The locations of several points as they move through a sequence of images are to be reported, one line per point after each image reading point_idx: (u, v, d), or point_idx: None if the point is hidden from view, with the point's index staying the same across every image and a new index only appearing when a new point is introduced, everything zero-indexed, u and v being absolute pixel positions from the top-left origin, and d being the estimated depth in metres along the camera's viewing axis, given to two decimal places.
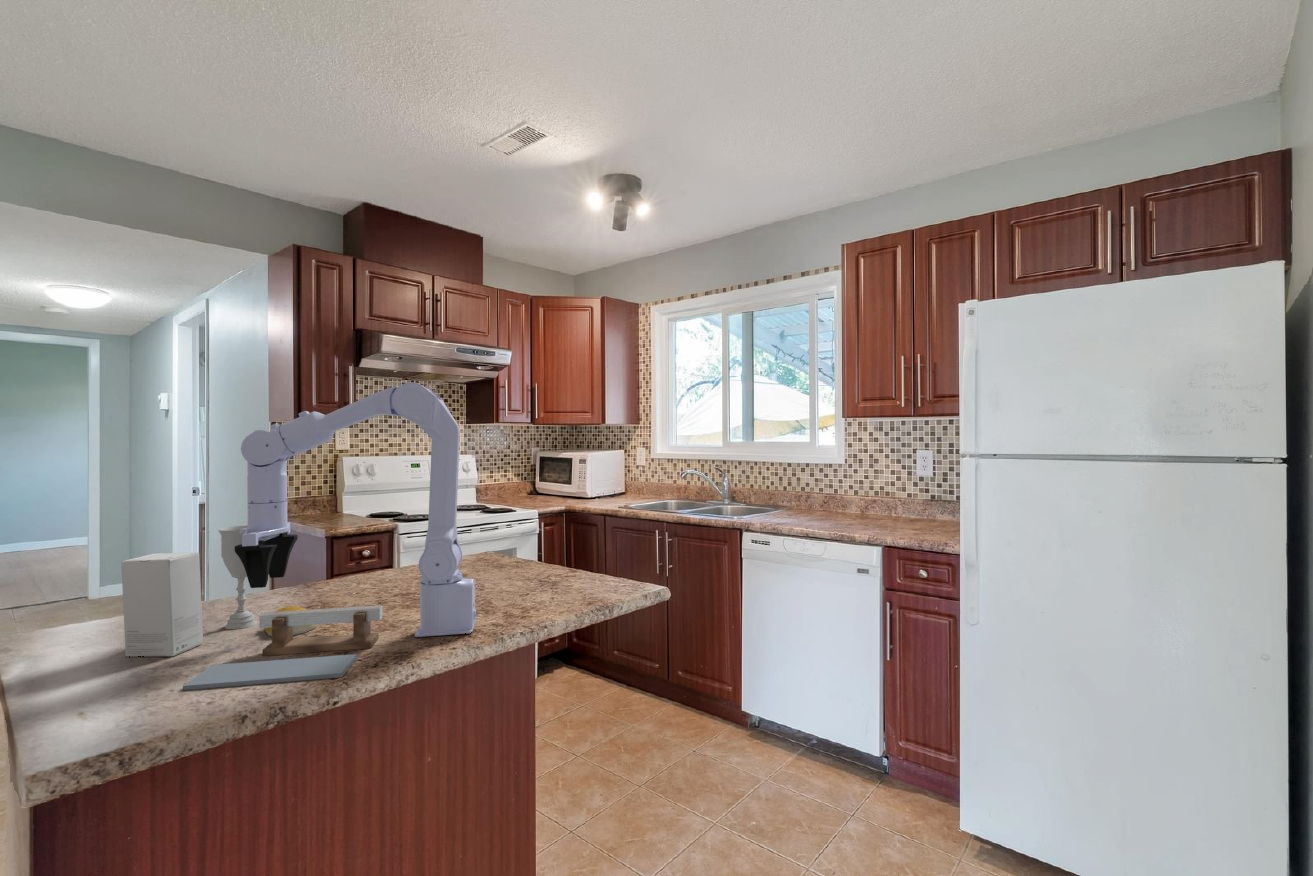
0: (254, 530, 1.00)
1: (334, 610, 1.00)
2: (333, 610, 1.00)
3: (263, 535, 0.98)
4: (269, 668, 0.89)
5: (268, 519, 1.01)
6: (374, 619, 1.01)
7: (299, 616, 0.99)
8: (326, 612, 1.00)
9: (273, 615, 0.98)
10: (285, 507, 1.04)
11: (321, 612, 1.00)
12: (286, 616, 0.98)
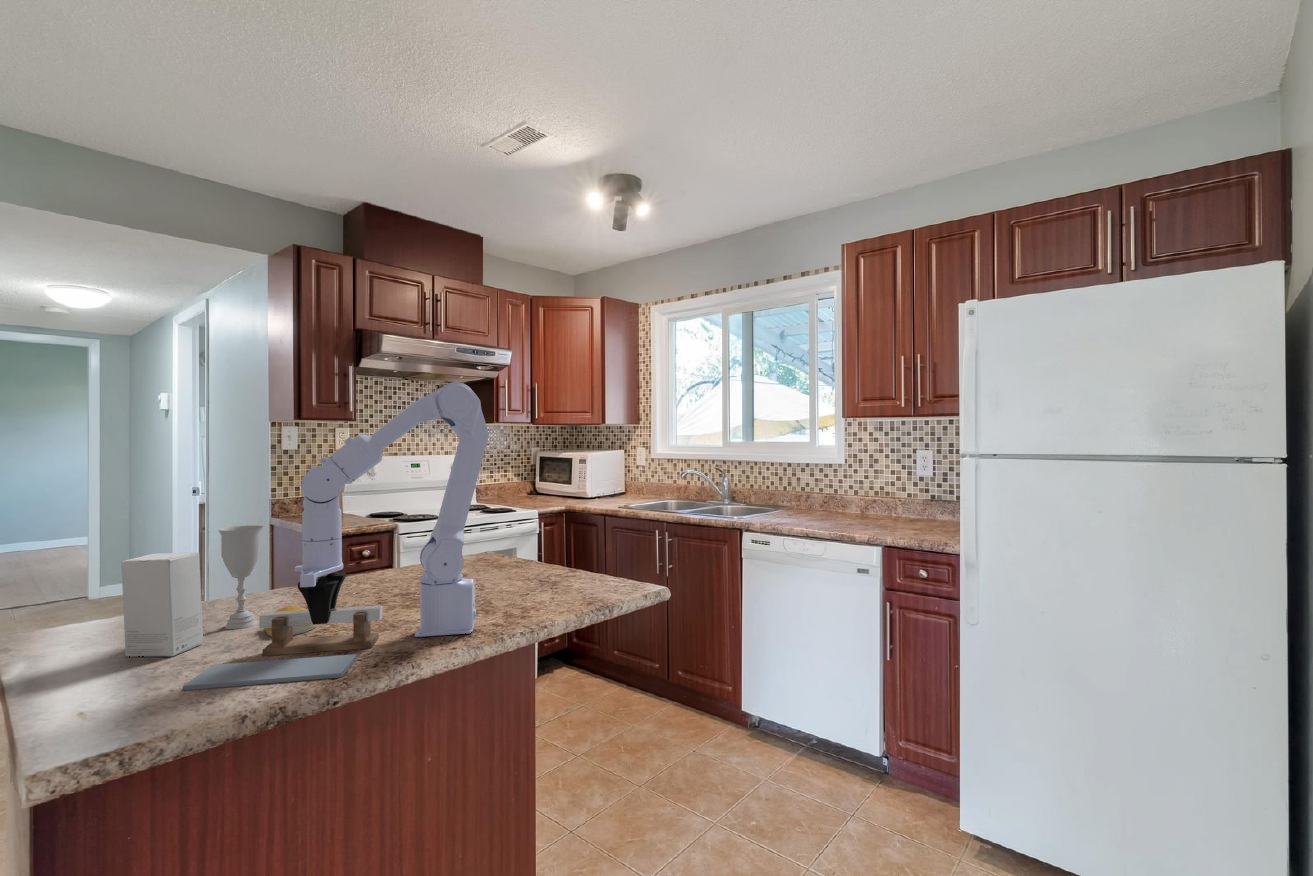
0: (310, 569, 0.98)
1: (334, 610, 1.00)
2: (333, 610, 1.00)
3: (320, 575, 0.96)
4: (269, 668, 0.89)
5: (324, 557, 0.98)
6: (374, 619, 1.01)
7: (299, 616, 0.99)
8: None
9: (273, 615, 0.98)
10: (340, 544, 1.01)
11: None
12: (286, 616, 0.98)
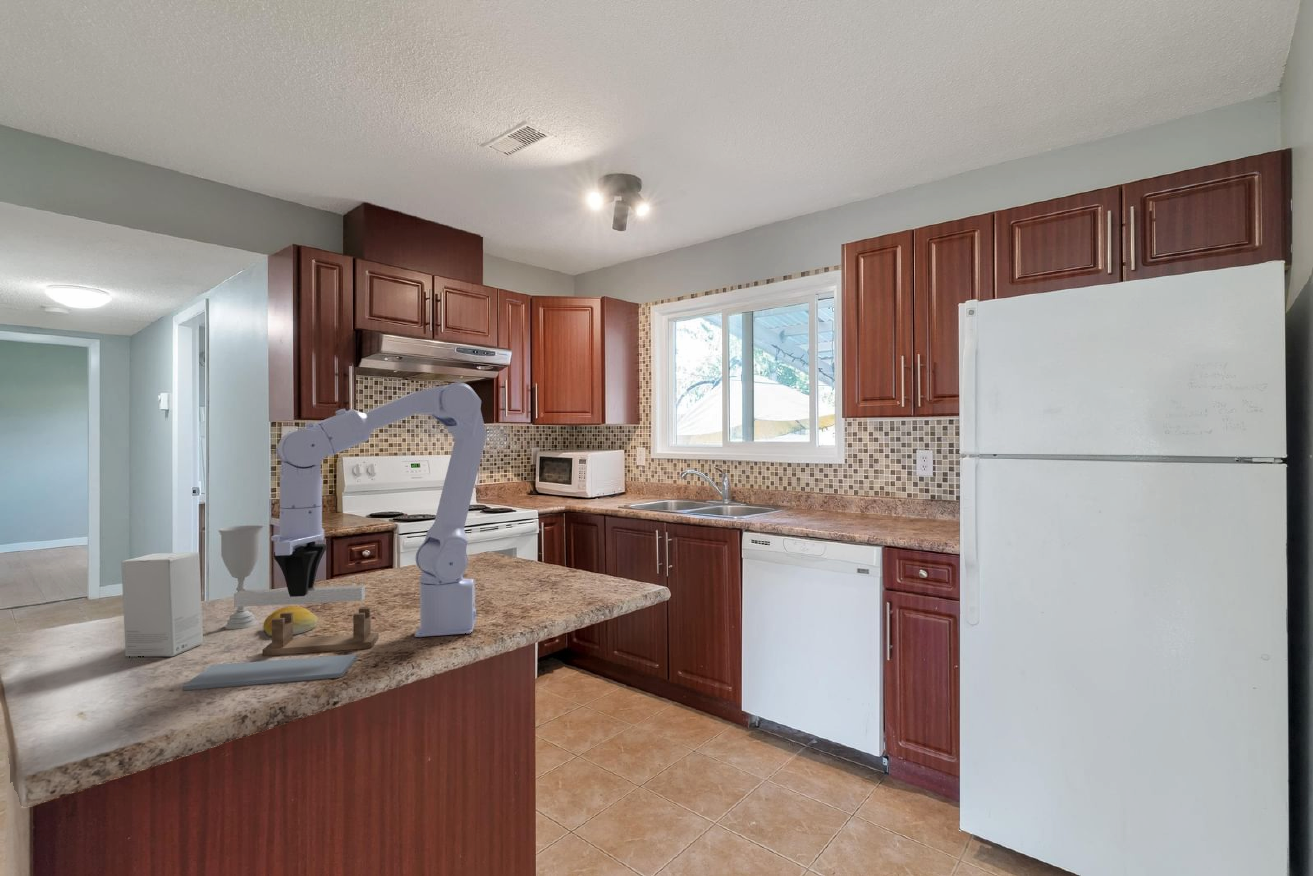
0: (287, 537, 0.92)
1: (313, 590, 0.95)
2: (312, 589, 0.95)
3: (297, 543, 0.90)
4: (269, 668, 0.89)
5: (302, 526, 0.93)
6: (355, 599, 0.96)
7: (276, 595, 0.94)
8: None
9: (249, 593, 0.93)
10: (320, 512, 0.96)
11: None
12: (262, 594, 0.93)
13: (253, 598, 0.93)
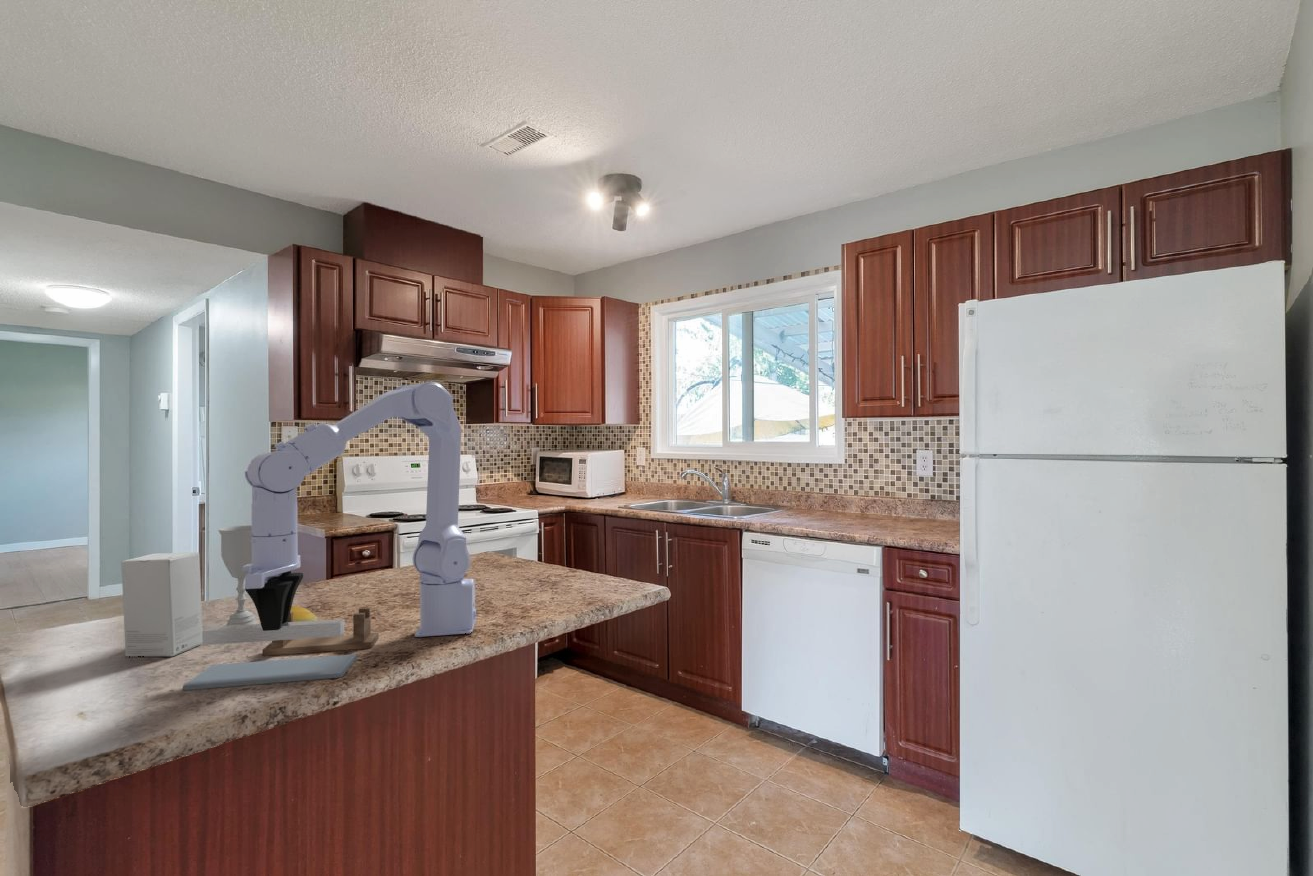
0: (259, 568, 0.86)
1: (288, 625, 0.89)
2: (287, 624, 0.89)
3: (270, 575, 0.84)
4: (269, 668, 0.89)
5: (276, 555, 0.87)
6: (334, 635, 0.90)
7: (248, 631, 0.87)
8: None
9: (218, 630, 0.87)
10: (295, 540, 0.89)
11: None
12: (233, 631, 0.87)
13: (223, 635, 0.87)
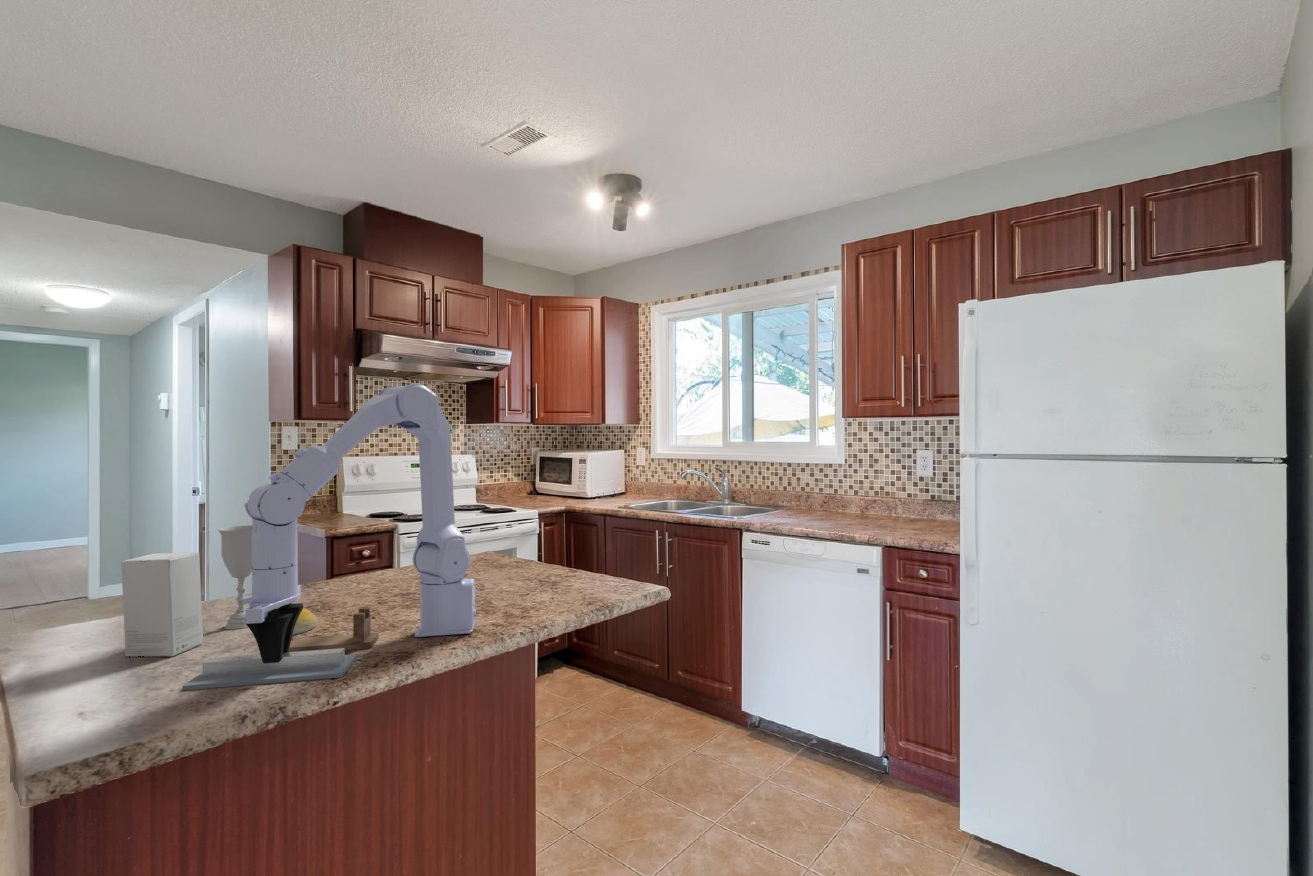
0: (259, 601, 0.86)
1: (288, 656, 0.89)
2: (288, 655, 0.89)
3: (270, 608, 0.84)
4: None
5: (276, 588, 0.87)
6: (334, 665, 0.90)
7: (248, 663, 0.87)
8: None
9: (218, 662, 0.87)
10: (295, 572, 0.89)
11: None
12: (233, 662, 0.87)
13: (223, 667, 0.87)
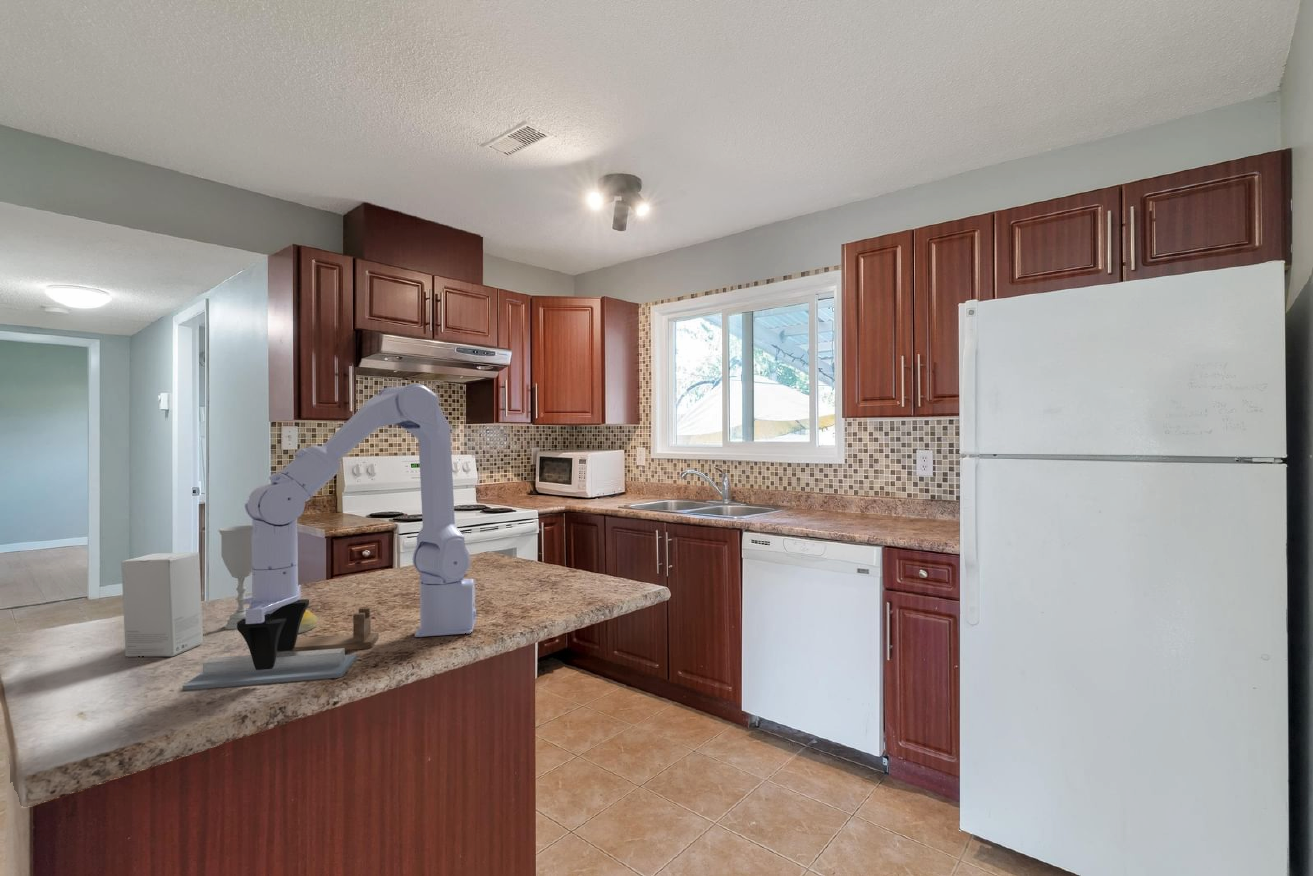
0: (260, 601, 0.86)
1: (288, 656, 0.89)
2: (288, 655, 0.89)
3: (270, 609, 0.84)
4: None
5: (276, 588, 0.87)
6: (334, 665, 0.90)
7: (248, 663, 0.87)
8: (279, 658, 0.88)
9: (218, 662, 0.87)
10: (295, 572, 0.89)
11: None
12: (233, 662, 0.87)
13: (223, 667, 0.87)
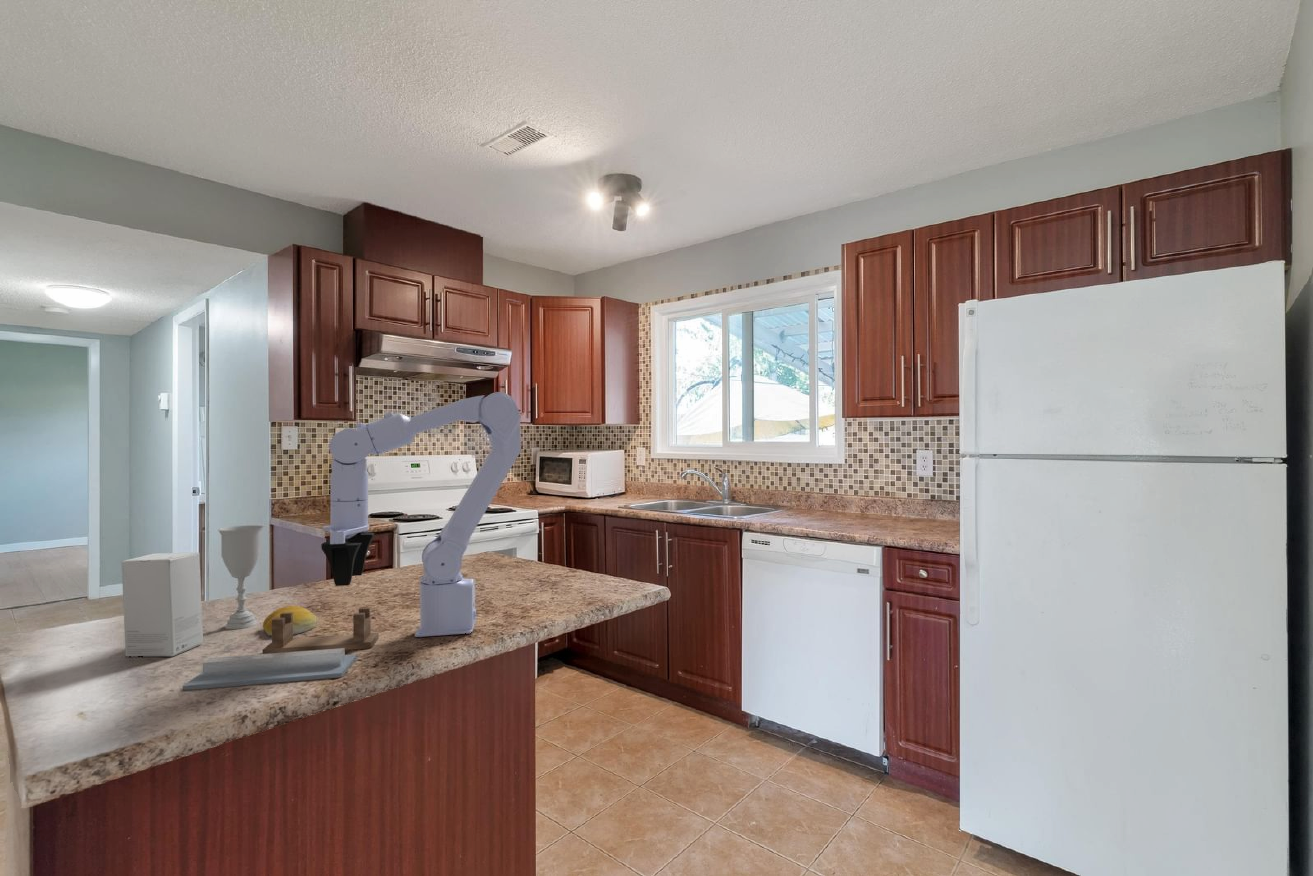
0: (338, 528, 1.01)
1: (288, 656, 0.89)
2: (288, 655, 0.89)
3: (349, 533, 0.99)
4: None
5: (352, 517, 1.01)
6: (334, 665, 0.90)
7: (248, 663, 0.87)
8: (279, 658, 0.88)
9: (218, 662, 0.87)
10: (367, 505, 1.04)
11: (274, 658, 0.88)
12: (233, 662, 0.87)
13: (223, 667, 0.87)
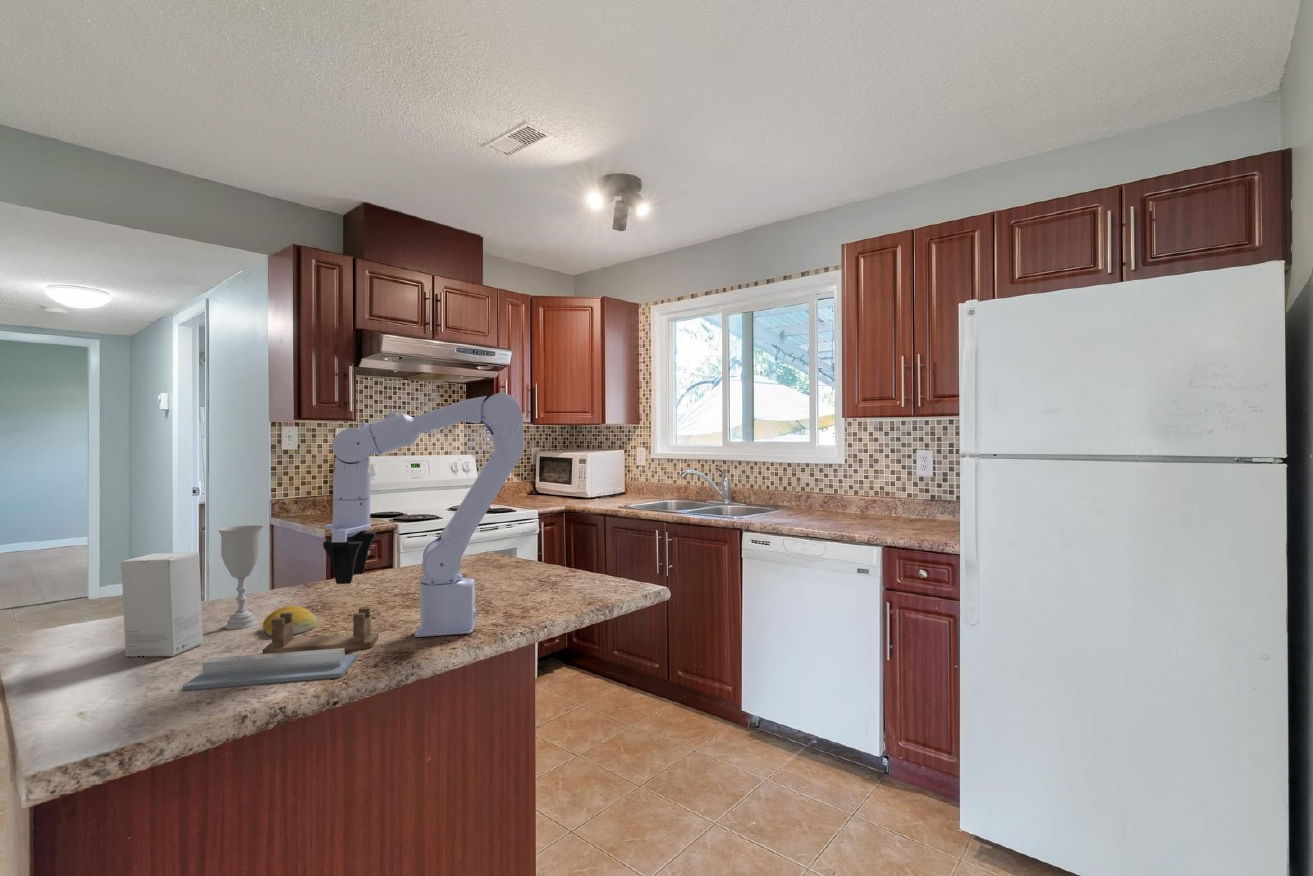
0: (340, 526, 1.01)
1: (288, 656, 0.89)
2: (288, 655, 0.89)
3: (351, 532, 0.99)
4: None
5: (354, 516, 1.02)
6: (334, 665, 0.90)
7: (248, 663, 0.87)
8: (279, 658, 0.88)
9: (218, 662, 0.87)
10: (369, 504, 1.05)
11: (274, 658, 0.88)
12: (233, 662, 0.87)
13: (223, 667, 0.87)
